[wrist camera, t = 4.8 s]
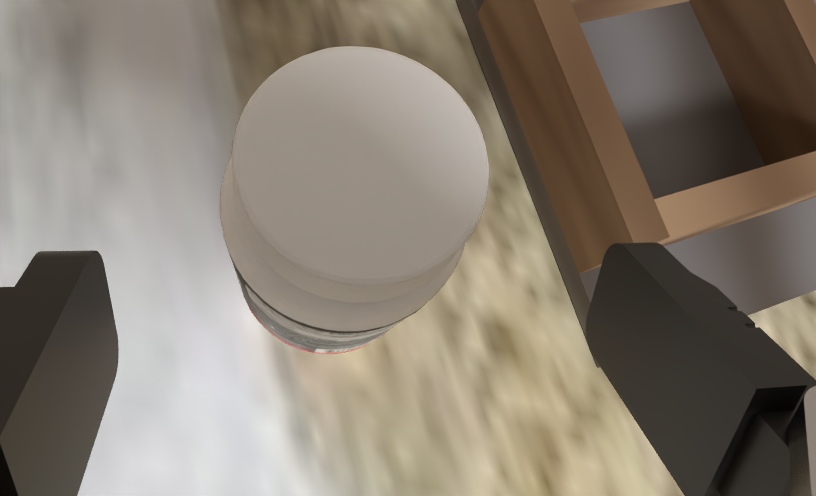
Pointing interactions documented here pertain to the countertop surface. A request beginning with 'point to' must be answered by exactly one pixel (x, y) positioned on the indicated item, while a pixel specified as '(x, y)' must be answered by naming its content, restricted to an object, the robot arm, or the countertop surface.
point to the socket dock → (663, 133)
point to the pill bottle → (350, 195)
